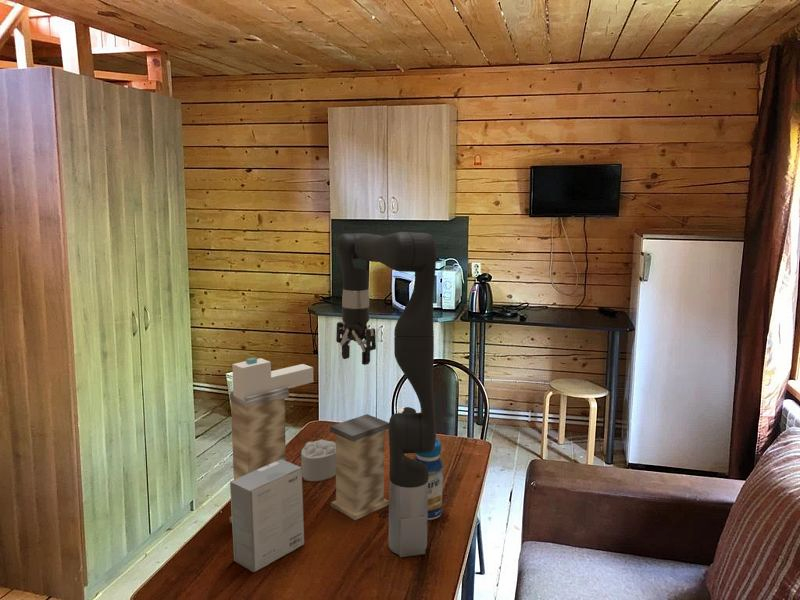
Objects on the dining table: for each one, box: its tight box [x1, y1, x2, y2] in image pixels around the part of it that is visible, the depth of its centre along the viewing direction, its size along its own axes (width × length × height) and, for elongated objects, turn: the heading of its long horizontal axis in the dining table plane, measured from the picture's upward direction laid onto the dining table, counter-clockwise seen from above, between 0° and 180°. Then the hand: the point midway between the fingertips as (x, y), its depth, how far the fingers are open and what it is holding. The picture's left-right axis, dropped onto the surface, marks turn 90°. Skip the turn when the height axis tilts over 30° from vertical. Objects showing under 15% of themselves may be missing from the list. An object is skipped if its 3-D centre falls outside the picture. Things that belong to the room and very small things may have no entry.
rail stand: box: [229, 387, 290, 524], centre depth 166 cm, size 13×9×35 cm
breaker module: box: [231, 357, 314, 400], centre depth 166 cm, size 21×4×9 cm, turn 135°
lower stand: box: [329, 414, 389, 521], centre depth 175 cm, size 13×10×23 cm
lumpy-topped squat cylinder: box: [300, 438, 336, 482], centre depth 197 cm, size 10×13×9 cm
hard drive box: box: [229, 459, 305, 573], centre depth 153 cm, size 16×8×20 cm, turn 141°
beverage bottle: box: [413, 438, 444, 521], centre depth 172 cm, size 8×8×20 cm
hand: (355, 361), depth 187 cm, fingers open, 8 cm apart
